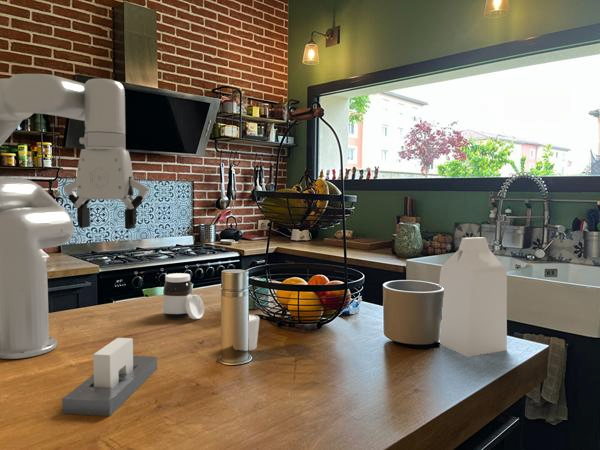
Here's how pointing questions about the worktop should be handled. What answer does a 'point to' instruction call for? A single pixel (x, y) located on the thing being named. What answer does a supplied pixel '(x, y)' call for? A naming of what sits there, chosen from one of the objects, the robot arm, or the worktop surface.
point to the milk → (474, 300)
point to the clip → (113, 362)
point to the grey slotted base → (108, 391)
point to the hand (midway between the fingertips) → (107, 227)
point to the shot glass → (253, 331)
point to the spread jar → (181, 298)
